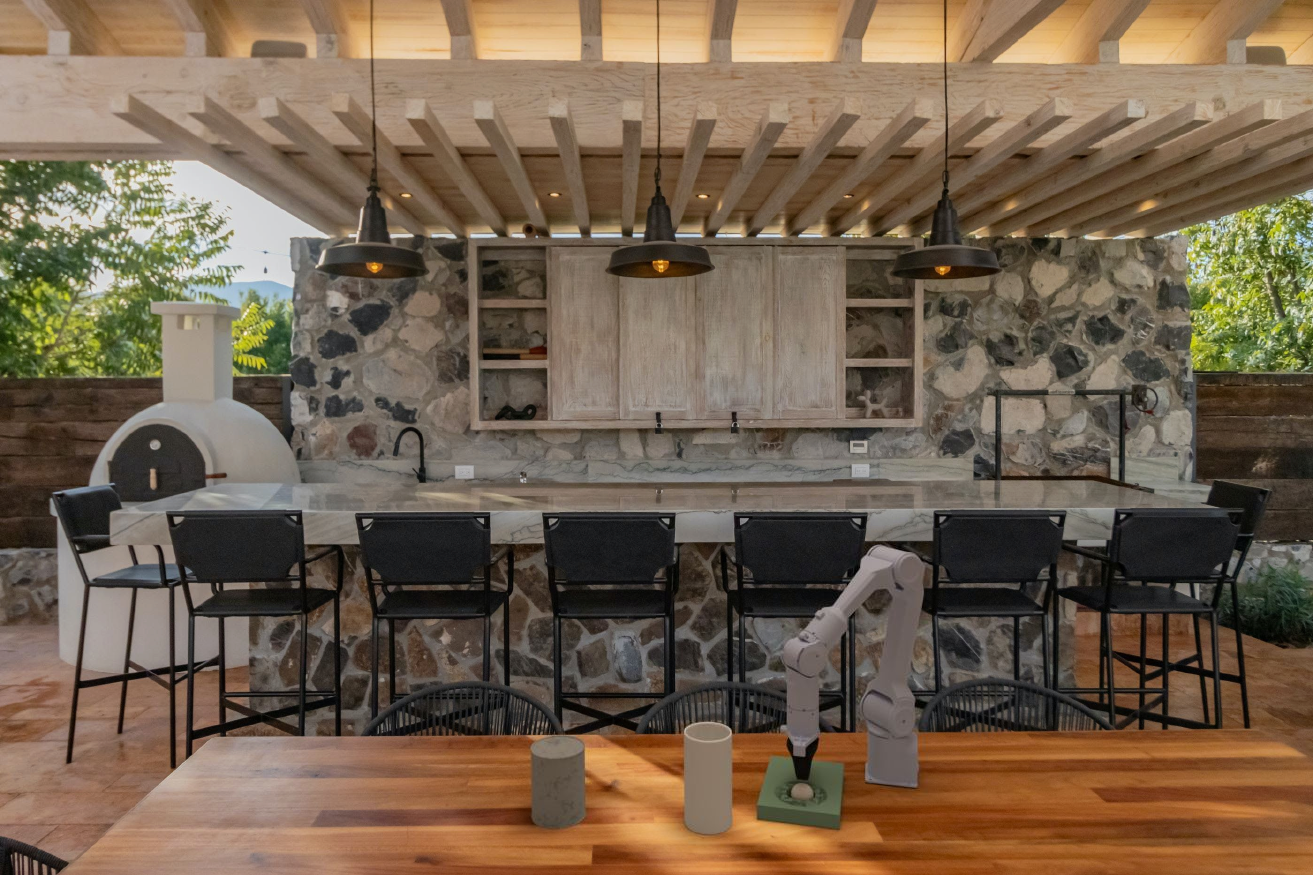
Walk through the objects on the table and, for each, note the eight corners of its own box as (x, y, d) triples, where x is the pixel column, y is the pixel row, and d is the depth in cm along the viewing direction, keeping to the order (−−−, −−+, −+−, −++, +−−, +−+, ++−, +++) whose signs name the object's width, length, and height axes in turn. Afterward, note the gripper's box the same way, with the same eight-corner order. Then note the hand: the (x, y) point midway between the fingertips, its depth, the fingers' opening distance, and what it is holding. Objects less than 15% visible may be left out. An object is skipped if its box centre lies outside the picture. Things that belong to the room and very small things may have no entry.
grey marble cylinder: (594, 805, 147) (593, 738, 147) (571, 832, 138) (571, 761, 138) (546, 797, 151) (545, 732, 150) (521, 823, 142) (520, 753, 141)
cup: (729, 836, 137) (729, 742, 136) (680, 831, 139) (680, 739, 138) (734, 812, 145) (734, 723, 144) (688, 807, 147) (688, 719, 146)
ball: (810, 807, 144) (809, 813, 147) (817, 785, 146) (815, 791, 149) (788, 798, 145) (787, 804, 148) (795, 776, 147) (794, 782, 150)
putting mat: (771, 767, 162) (771, 755, 162) (843, 775, 158) (843, 763, 158) (756, 818, 143) (756, 804, 142) (839, 829, 139) (839, 814, 139)
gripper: (784, 689, 158) (784, 758, 158) (776, 718, 144) (776, 794, 144) (822, 692, 156) (822, 762, 156) (817, 722, 142) (816, 798, 142)
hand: (802, 778), depth 150 cm, fingers closed
